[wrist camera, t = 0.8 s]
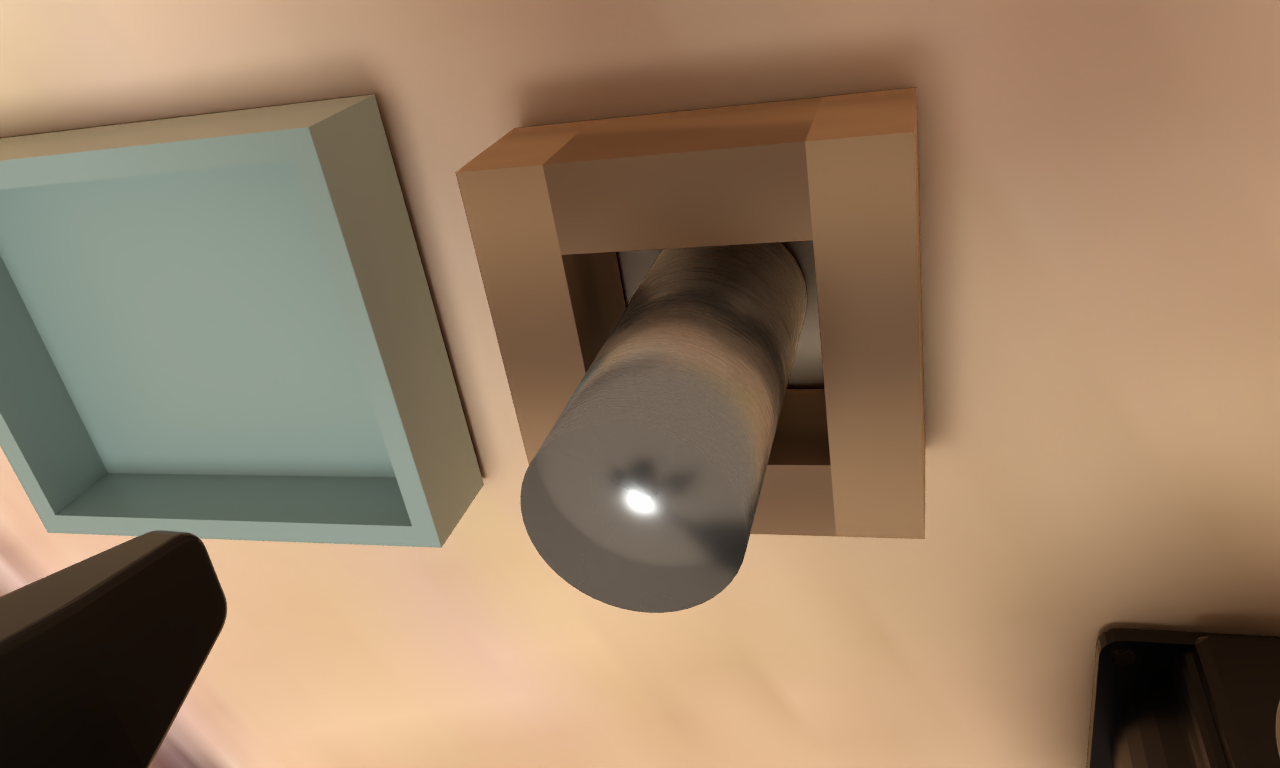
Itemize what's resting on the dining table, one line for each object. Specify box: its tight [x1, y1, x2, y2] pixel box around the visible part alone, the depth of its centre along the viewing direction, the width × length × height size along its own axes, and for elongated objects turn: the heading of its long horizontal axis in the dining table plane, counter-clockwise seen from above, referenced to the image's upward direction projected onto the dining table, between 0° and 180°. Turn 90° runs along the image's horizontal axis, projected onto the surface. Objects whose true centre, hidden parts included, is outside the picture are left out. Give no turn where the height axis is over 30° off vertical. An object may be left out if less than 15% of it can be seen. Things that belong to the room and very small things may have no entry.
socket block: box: [456, 88, 925, 539], centre depth 20 cm, size 8×8×3 cm
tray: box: [0, 94, 484, 548], centre depth 24 cm, size 10×12×3 cm
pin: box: [521, 242, 807, 613], centre depth 17 cm, size 3×3×8 cm
